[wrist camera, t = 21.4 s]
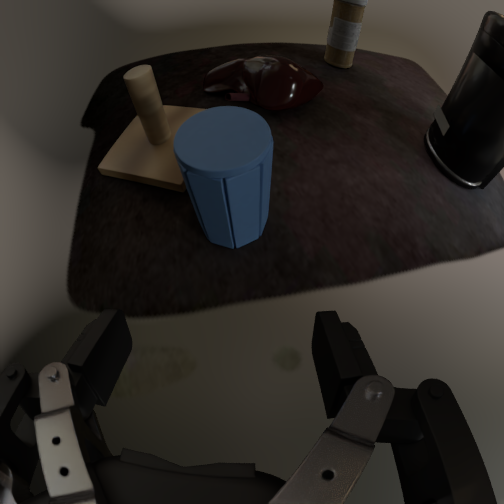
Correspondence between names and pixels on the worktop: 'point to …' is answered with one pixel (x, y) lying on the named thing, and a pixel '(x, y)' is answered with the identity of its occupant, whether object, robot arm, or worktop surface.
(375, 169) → the worktop surface
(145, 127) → the dowel stand
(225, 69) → the dark red glossy lump
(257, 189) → the blue sleeve
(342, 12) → the sprinkles bottle
